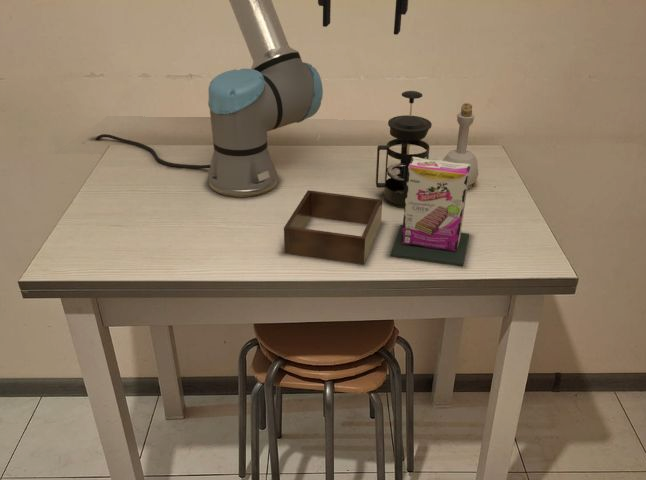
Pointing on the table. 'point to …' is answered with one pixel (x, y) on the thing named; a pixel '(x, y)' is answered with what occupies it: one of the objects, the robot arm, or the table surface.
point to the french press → (402, 151)
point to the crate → (329, 242)
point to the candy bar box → (435, 203)
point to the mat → (430, 251)
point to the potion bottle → (464, 143)
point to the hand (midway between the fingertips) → (361, 29)
